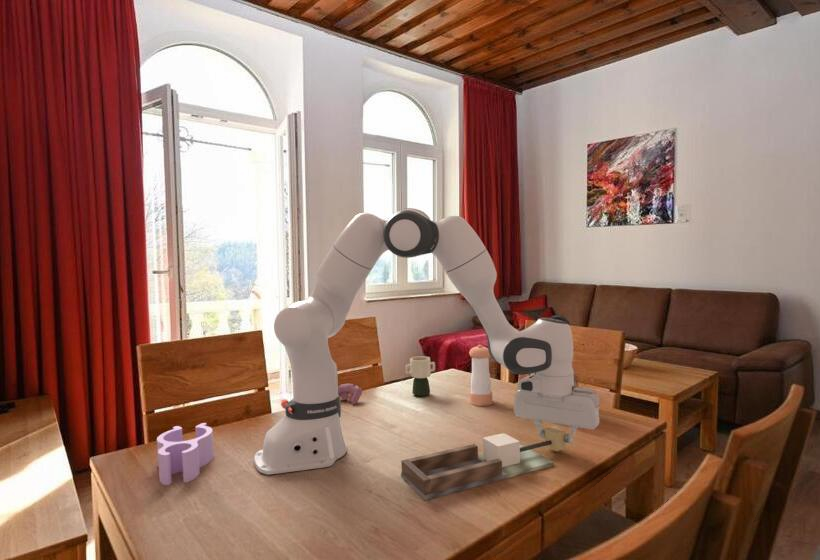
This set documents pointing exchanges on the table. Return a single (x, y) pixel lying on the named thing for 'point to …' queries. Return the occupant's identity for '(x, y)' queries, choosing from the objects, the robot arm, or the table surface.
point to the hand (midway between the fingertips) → (555, 439)
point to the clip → (184, 453)
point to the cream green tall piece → (420, 374)
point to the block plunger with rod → (510, 447)
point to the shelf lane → (463, 470)
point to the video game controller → (350, 388)
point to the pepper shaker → (480, 377)
